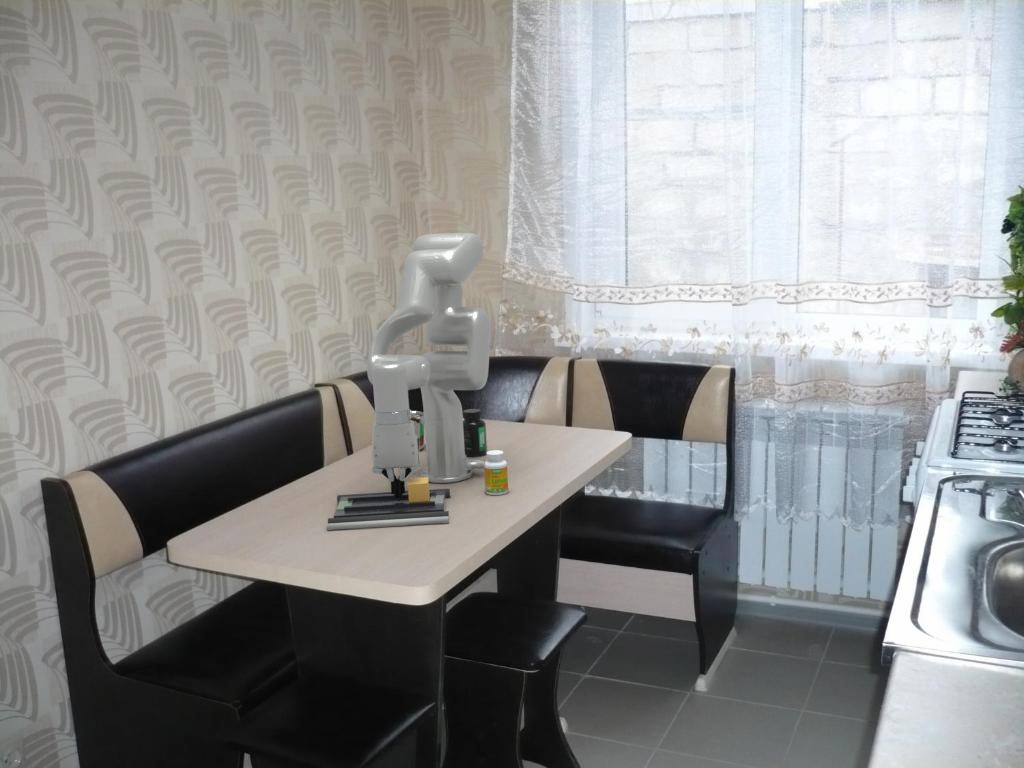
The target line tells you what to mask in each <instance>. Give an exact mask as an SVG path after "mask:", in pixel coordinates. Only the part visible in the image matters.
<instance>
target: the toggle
mask: <svg viewBox="0 0 1024 768" xmlns="http://www.w3.org/2000/svg"><path fill="white" fill-rule="evenodd" d="M429 490H430V482H429V479H428V477H422V476H421V477H409V478H408V482H407V491H408V495H409V502H425V501H429V498H430V494H429Z"/></svg>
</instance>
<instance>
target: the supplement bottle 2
mask: <svg viewBox="0 0 1024 768" xmlns="http://www.w3.org/2000/svg"><path fill="white" fill-rule="evenodd" d="M504 455H505V454H504V451H503V450H500V449H499V450H498V449H493V450H487V453H486V455H485V457H486V459H487V460H485V462H483V463H484V468H483V469H484V471H483V472H484V486H485V487H484V488H485V489H484V490H485V494H486V495H489V496H503V495H505V494H507V493H508V492H509V478H508V462H507V461H506V460H505V459H504V457H505V456H504Z"/></svg>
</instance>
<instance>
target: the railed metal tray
mask: <svg viewBox="0 0 1024 768" xmlns="http://www.w3.org/2000/svg"><path fill="white" fill-rule="evenodd" d="M429 494H430V498H429V501H425V502H409V495H408V493H405V494H403V495H402V498H400V499H399V498H397V499H395V498H394V494H383V495H367V496H350V497H341V498H340V501H339V504H338V503H337V506H336V509H335V511H334V514H333V518H340V517H357V516H373V515H390V514H406V513H423V512H439V511H446V503H447V502H446V500H447V499H446V498H447V497H446V496H445V491H433V492H429Z"/></svg>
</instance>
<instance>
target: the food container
mask: <svg viewBox="0 0 1024 768" xmlns="http://www.w3.org/2000/svg"><path fill="white" fill-rule="evenodd" d="M415 411H416V417H413V418H411V419H410V420H412V421H414V425H415V429H416V434H417V441H418V450H419V453H421V452H423V451H424V447H425V425H424V411H418V410H415Z"/></svg>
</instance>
